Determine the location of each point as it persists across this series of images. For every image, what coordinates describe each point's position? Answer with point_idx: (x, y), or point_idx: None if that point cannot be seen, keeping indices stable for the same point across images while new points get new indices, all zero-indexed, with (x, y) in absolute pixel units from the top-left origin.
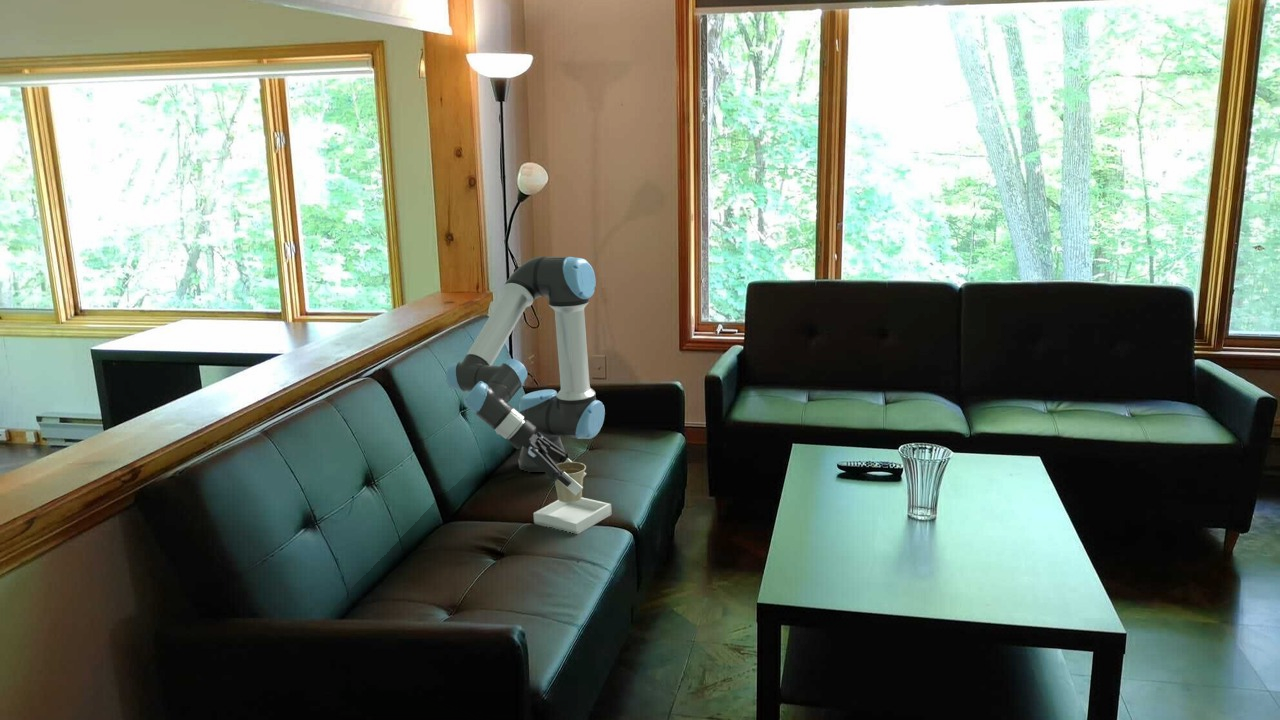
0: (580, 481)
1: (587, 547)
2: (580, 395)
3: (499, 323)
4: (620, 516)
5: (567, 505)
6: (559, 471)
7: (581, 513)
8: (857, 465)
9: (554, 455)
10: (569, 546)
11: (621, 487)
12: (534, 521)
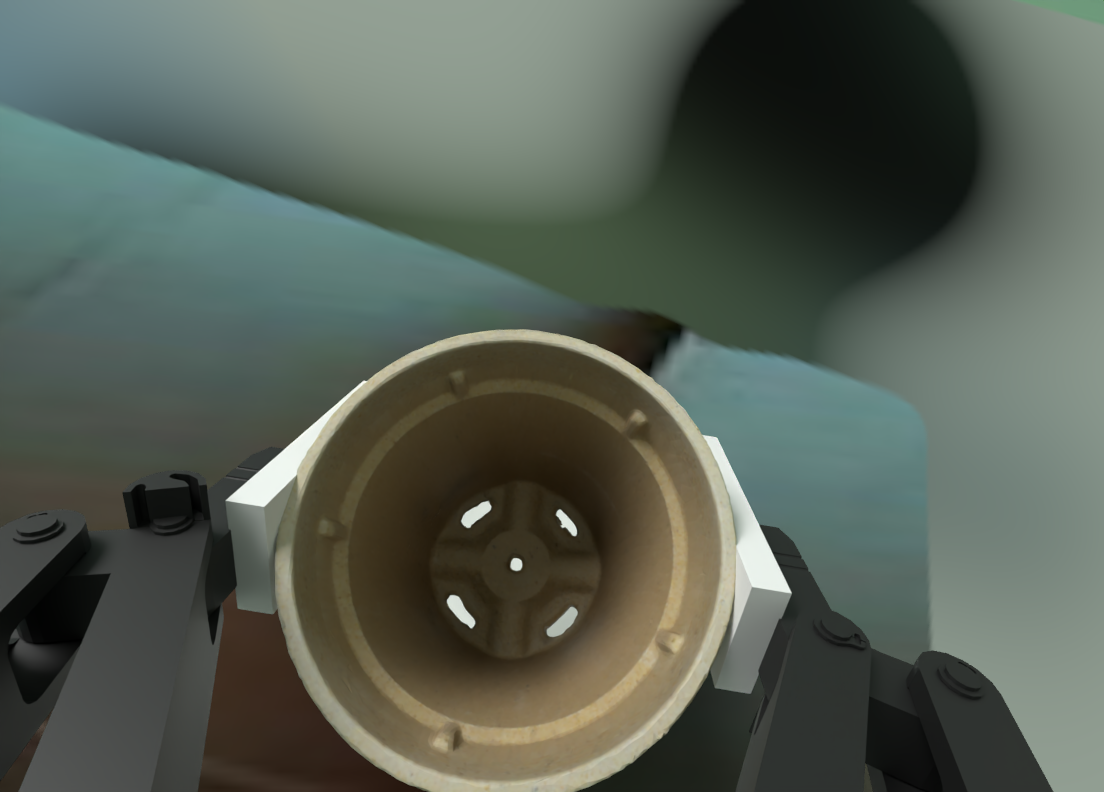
0: (600, 440)
1: (880, 514)
2: None
3: None
4: (542, 329)
5: None
6: (870, 660)
7: (483, 511)
8: None
9: (187, 735)
10: (867, 608)
11: (169, 280)
12: None
